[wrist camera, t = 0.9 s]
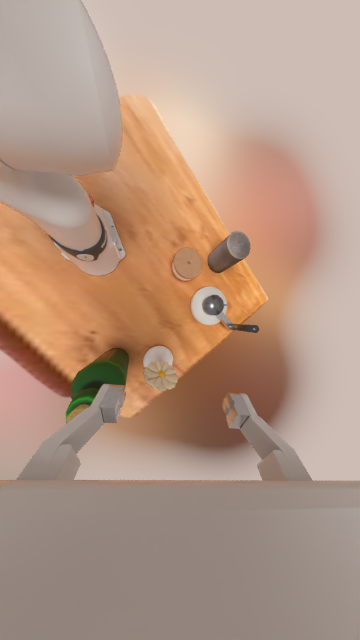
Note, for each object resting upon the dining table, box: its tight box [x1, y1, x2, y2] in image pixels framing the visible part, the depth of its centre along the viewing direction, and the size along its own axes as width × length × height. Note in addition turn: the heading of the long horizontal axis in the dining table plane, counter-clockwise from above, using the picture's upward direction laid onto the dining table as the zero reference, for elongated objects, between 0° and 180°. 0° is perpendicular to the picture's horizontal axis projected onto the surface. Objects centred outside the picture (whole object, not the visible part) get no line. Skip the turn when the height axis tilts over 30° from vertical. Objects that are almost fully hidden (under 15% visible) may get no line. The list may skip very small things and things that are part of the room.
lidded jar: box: [172, 248, 202, 281], centre depth 48 cm, size 11×11×9 cm
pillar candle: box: [208, 231, 250, 273], centre depth 50 cm, size 10×10×15 cm
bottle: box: [66, 348, 129, 424], centre depth 32 cm, size 11×11×28 cm
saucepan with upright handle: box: [202, 295, 259, 333], centre depth 47 cm, size 17×8×14 cm, turn 44°
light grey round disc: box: [190, 286, 227, 325], centre depth 54 cm, size 16×16×3 cm
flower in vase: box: [143, 346, 178, 391], centre depth 38 cm, size 13×11×25 cm
